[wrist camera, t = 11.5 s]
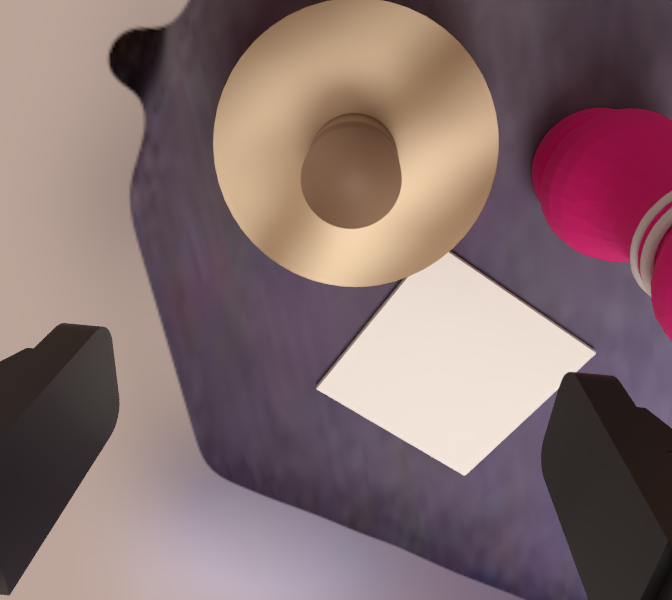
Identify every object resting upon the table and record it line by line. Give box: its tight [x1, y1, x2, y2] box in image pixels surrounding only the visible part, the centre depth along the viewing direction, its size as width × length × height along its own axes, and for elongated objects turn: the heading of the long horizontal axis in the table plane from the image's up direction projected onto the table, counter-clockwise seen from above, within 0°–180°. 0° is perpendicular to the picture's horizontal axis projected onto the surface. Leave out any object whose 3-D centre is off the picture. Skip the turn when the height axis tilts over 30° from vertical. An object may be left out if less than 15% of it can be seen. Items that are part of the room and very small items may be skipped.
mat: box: [316, 251, 596, 476], centre depth 38 cm, size 13×13×1 cm
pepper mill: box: [531, 107, 672, 341], centre depth 23 cm, size 7×7×20 cm
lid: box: [213, 0, 499, 287], centre depth 25 cm, size 13×13×5 cm
